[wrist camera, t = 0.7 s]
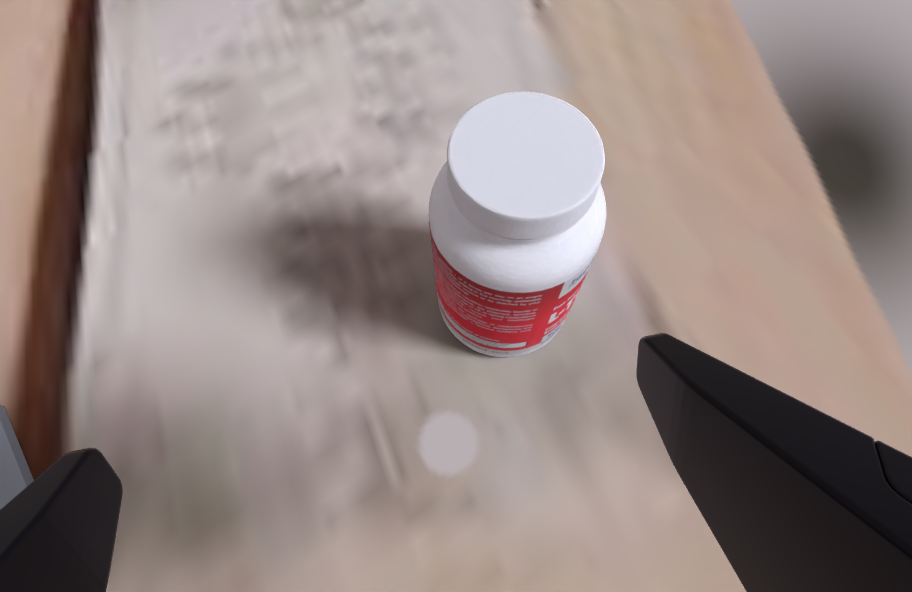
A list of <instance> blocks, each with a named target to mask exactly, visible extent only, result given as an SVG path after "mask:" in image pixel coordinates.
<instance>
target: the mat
mask: <svg viewBox="0 0 912 592" xmlns="http://www.w3.org/2000/svg"><path fill="white" fill-rule="evenodd" d="M33 481H34V479H33V477H32V474H31V472H30V469H29V467H28V464H27V462H26V460H25V457H24V455H23V452H22V450H21V447H20V445H19V442H18V440H17V437H16V435H15V432H14V430H13V427H12V425H11V422H10V420H9V417H8V415H7V412H6V410H5V407H4V406H1V405H0V509H1V508H3V507H4V506H5V505H6V504H7V503H8V502H10V501H11V500H12V499H13V498H14V497H15V496H17V495H18V494H19V493H20V492H21V491H22V490H23V489H25V488H26V487H27V486H28V485H29V484H30V483H32V482H33Z"/></svg>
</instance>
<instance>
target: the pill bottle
mask: <svg viewBox="0 0 912 592" xmlns="http://www.w3.org/2000/svg"><path fill="white" fill-rule="evenodd" d="M604 164H605V155H604V148H603V144H602V140H601V138H600V136H599V134H598V132H597V130H596V128H595V127H594V125H593V124H592V123H591V121H590V120H589V119H588V118H587V117H586V116H585V115H584V114H583V113H582V112H580V111H579V110H578V109H577V108H575V107H573V106H572V105H570V104H568V103H567V102H565V101H563V100H560V99H558V98H555V97H553V96H550V95H546V94H541V93H535V92H509V93H503V94H499V95H496V96H493V97H490V98H488V99H485V100H483V101H481V102H479V103H478V104H476V105H475V106H473V107H472V108H471V109H469V110H468V111H467V112H466V113H465V114H464V115H463V116H462V117H461V118H460V120H459V121H458V122H457V124H456V125H455V127H454V129H453V131H452V133H451V135H450V138H449V142H448V148H447V162H446V163H445V165H444V166H443V167H442V169H441V171H440V172H439V174H438V176H437V178H436V180H435V183H434V185H433V188H432V191H431V195H430V201H429V225H430V234H431V242H432V251H433V260H434V269H435V279H436V288H437V297H438V304H439V308H440V312H441V315H442V317H443V320H444V322H445V324H446V325H447V327H448V328H449V330H450V331H451V332H452V333H453V334H454V336H455V337H456V338H457V339H459V340H460V341H461V342H462V343H463V344H465V345H466V346H468V347H469V348H471V349H473V350H475V351H477V352H479V353H482V354H486V355H489V356H495V357H516V356H521V355H525V354H528V353H531V352H533V351H535V350H537V349H539V348H541V347H542V346H544V345H545V344H546V343H548V342H549V341H550V340H551V339H552V338H553V337H554V336H555V335H556V334H557V332H558V331H559V330H560V328H561V327H562V325H563V324H564V322H565V320H566V318H567V316H568V313H569V312H570V309H571V307H572V305H573V303H574V300H575V298H576V296H577V294H578V292H579V290H580V287H581V285H582V283H583V281H584V279H585V276H586V274H587V272H588V270H589V268H590V266H591V263H592V261H593V259H594V256H595V254H596V252H597V250H598V247H599V245H600V242H601V239H602V236H603V233H604V228H605V222H606V202H605V197H604V192H603V189H602V186H601V184H600V181H601V178H602V175H603V171H604Z"/></svg>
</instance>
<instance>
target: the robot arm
mask: <svg viewBox="0 0 912 592" xmlns="http://www.w3.org/2000/svg"><path fill="white" fill-rule="evenodd" d="M637 381H638V385H639V388H640V390H641V392H642V395H643V397H644V399H645V402H646V404H647V406H648V408H649V411H650V413H651V415H652V418H653V420H654V422H655V424H656V427H657V429H658V431H659V434H660V436H661V438H662V440H663V443H664V445H665V447H666V450H667V452H668V454H669V456H670V458H671V460H672V463H673V465H674V466H675V468H676V470H677V472H678V474H679V476H680V477H681V479H682V481H683V483H684V484H685V486H686V488H687V489H688V491H689V493H690V495H691V496H692V498H693V500H694V502H695V503H696V505H697V507H698V508H699V510H700V512H701V514H702V515H703V517H704V519H705V521H706V522H707V524H708V526H709V527H710V529H711V531H712V533H713V534H714V536H715V538H716V540H717V541H718V543H719V545H720V546H721V548H722V550H723V552H724V553H725V555H726V557H727V559H728V560H729V562H730V564H731V565H732V567H733V569H734V571H735V572H736V574H737V576H738V578H739V579H740V581H741V583H742V584H743V586H744V588H745V590H746V591H747V592H912V457H911V456H908V455H906V454H904V453H902V452H900V451H898V450H896V449H894V448H893V447H891V446H889V445H887V444H885V443H883V442H881V441H876V442H875V441H874V439H873V438H872V437H870V436H868V435H866V434H864V433H862V432H860V431H858V430H856V429H855V428H853V427H851V426H849V425H847V424H845V423H843V422H841V421H839V420H837V419H835V418H833V417H831V416H829V415H827V414H825V413H823V412H821V411H819V410H817V409H815V408H813V407H811V406H809V405H807V404H805V403H803V402H801V401H799V400H797V399H795V398H793V397H791V396H789V395H787V394H785V393H783V392H781V391H779V390H777V389H775V388H773V387H771V386H769V385H767V384H765V383H763V382H761V381H759V380H757V379H755V378H754V377H752V376H750V375H748V374H746V373H744V372H742V371H740V370H738V369H736V368H734V367H732V366H730V365H728V364H726V363H724V362H722V361H720V360H718V359H716V358H714V357H712V356H710V355H708V354H706V353H704V352H702V351H700V350H698V349H696V348H694V347H692V346H690V345H688V344H686V343H684V342H682V341H680V340H678V339H676V338H674V337H672V336H670V335H668V334H665V333H659V334H654V335H649V336H645V337H643V338H641V339H640V342H639V347H638V360H637ZM121 500H122V484H121V481H120V479H119V477H118V476H117V474H116V473H115V472H114V470H113V469H112V467H111V466H110V464H109V463H108V462H107V460H106V459H105V457H104V456H103V455H102V453H101V452H100V451H99V450H97V449H95V448H87V449H82V450H77V451H72V452H69V453H66V454H64V455H63V456H62V457H61V458H59V459H58V460H57V461H56V462H55V463H54V464H52V465H51V466H50V467H49V468H48V469H47V470H46V471H44V472H43V473H42V474H41V475H40V476H39V477H37V478H36V479H35V480H34V481H33V482H32V483H30V484H29V485H28V486H27V487H26V488H25V489H23V490H22V491H21V492H20V493H19V494H18V495H17V496H15V497H14V498H13V499H12V500H11V501H10V502H8V503H7V504H6V505H5V506H4V507H3V508H1V509H0V592H106V588H107V583H108V578H109V573H110V567H111V561H112V555H113V549H114V543H115V537H116V531H117V524H118V518H119V512H120V506H121Z"/></svg>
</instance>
